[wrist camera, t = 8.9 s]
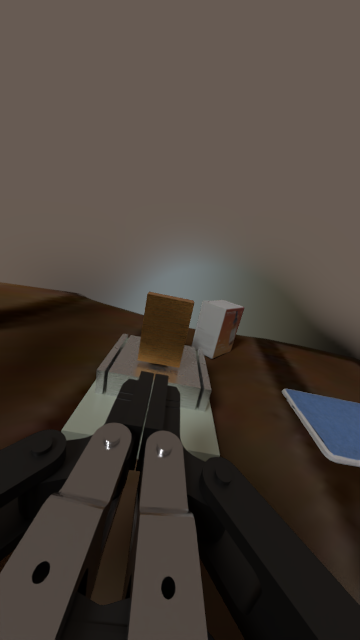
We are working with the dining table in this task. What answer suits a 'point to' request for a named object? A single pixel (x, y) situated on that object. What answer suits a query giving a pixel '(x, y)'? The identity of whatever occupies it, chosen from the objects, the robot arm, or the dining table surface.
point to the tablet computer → (329, 424)
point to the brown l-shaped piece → (164, 329)
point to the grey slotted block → (126, 366)
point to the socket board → (193, 424)
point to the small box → (217, 327)
